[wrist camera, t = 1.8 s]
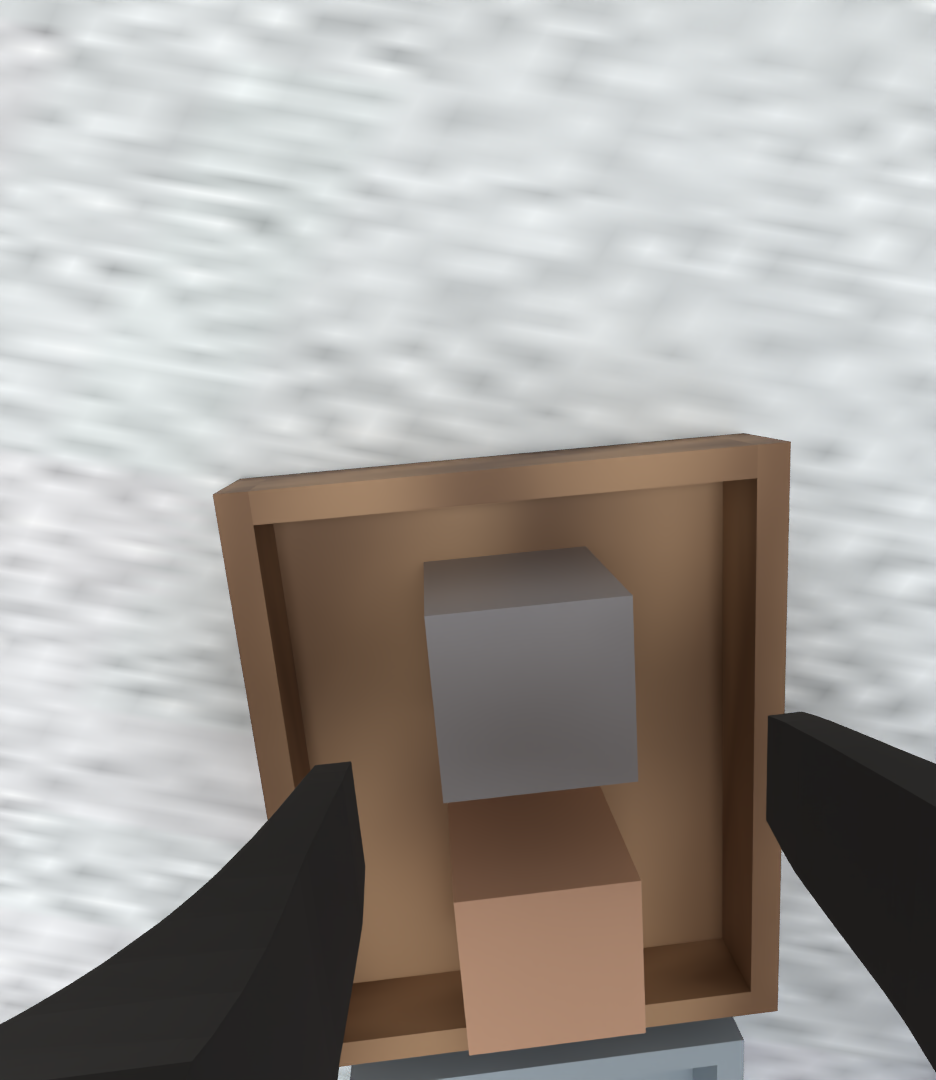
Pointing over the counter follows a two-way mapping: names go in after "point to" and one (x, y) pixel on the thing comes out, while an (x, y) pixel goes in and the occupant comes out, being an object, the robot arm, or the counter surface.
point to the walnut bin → (408, 714)
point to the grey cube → (530, 673)
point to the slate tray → (589, 1058)
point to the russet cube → (546, 920)
